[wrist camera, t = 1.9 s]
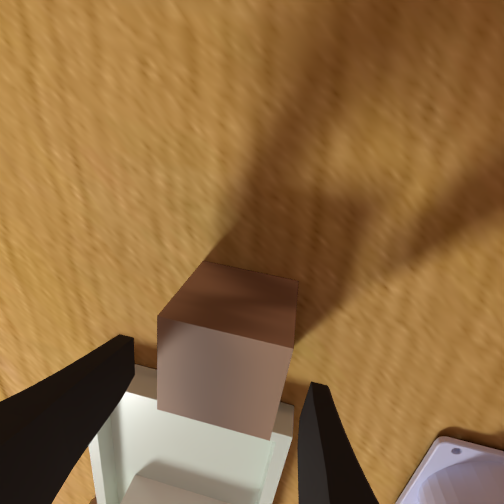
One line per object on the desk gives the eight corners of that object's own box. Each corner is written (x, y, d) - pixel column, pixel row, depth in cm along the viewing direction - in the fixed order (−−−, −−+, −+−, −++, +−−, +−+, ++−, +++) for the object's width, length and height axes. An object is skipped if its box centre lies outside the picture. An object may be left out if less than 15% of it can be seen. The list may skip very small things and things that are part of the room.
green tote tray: (294, 405, 18) (292, 437, 16) (253, 547, 25) (248, 579, 23) (100, 354, 19) (78, 378, 17) (115, 502, 26) (101, 530, 24)
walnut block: (298, 280, 14) (293, 348, 10) (280, 355, 16) (269, 440, 12) (203, 260, 15) (157, 316, 10) (197, 335, 17) (157, 409, 12)
